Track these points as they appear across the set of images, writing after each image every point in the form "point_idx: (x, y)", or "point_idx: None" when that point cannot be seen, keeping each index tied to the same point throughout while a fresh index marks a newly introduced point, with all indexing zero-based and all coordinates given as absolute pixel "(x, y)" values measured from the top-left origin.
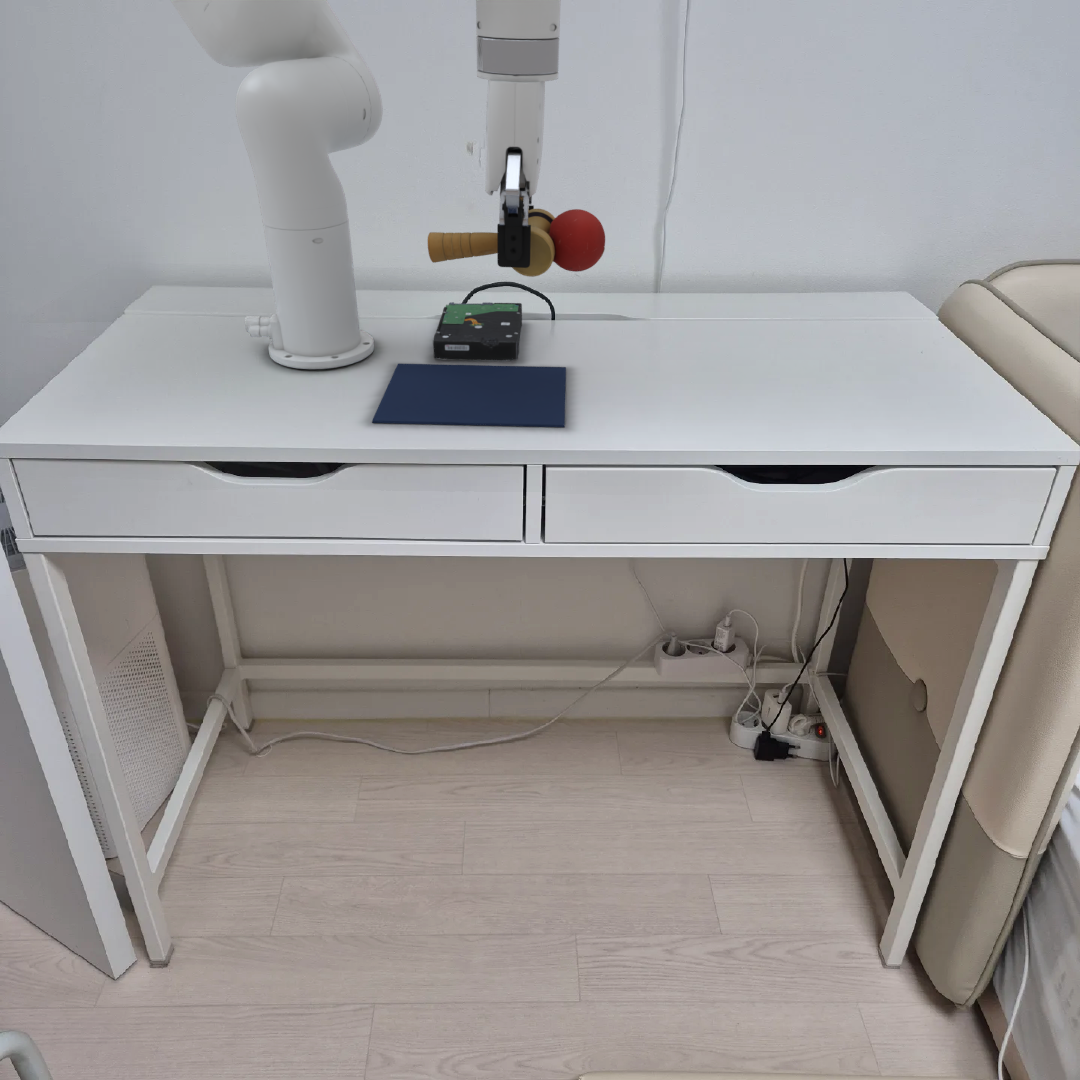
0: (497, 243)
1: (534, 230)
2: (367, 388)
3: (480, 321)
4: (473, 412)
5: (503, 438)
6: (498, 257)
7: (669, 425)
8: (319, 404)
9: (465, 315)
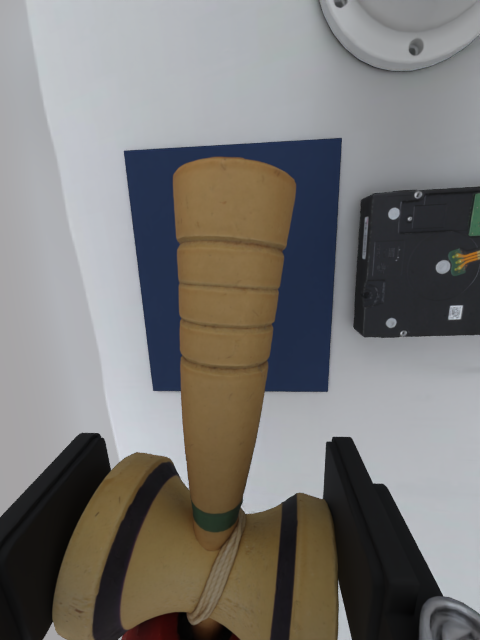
0: (33, 484)
1: (65, 636)
2: (244, 109)
3: (473, 267)
4: (170, 287)
5: (116, 327)
6: (67, 449)
7: None
8: (175, 40)
9: None
